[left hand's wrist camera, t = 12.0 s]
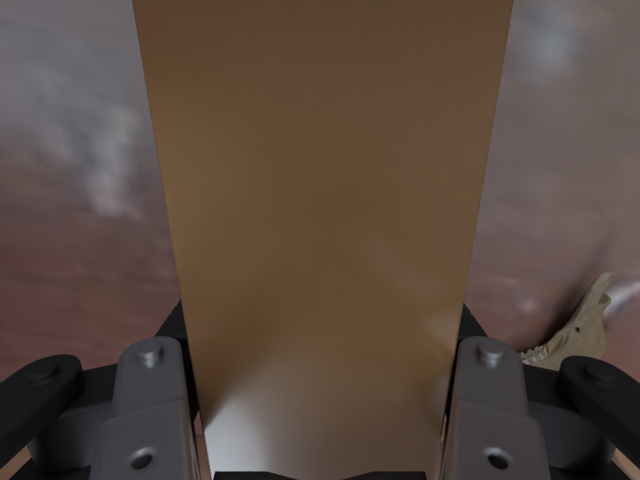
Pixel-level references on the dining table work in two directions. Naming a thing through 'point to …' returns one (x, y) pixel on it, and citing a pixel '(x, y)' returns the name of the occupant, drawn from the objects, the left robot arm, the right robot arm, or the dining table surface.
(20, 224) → the dining table surface
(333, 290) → the bar
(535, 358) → the jawbone
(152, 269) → the dining table surface
